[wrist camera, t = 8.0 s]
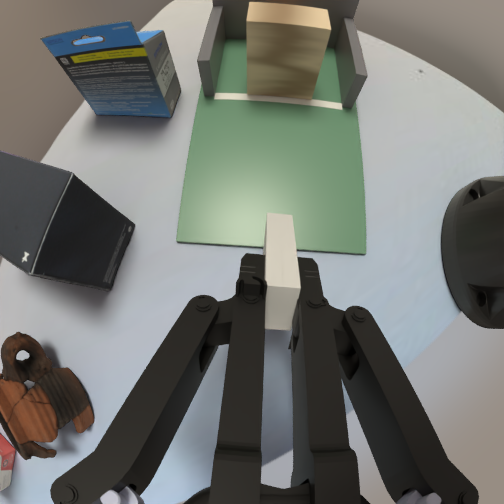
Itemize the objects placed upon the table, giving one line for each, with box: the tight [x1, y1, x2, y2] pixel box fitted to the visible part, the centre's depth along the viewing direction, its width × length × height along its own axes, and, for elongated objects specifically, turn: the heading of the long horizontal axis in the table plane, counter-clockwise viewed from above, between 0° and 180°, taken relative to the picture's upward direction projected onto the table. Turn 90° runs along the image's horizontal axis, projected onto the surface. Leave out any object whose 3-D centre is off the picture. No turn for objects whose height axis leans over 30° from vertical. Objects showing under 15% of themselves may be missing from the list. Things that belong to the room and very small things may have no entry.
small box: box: [0, 150, 135, 291], centre depth 19 cm, size 11×6×10 cm, turn 70°
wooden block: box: [246, 2, 331, 100], centre depth 21 cm, size 6×3×9 cm, turn 86°
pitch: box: [176, 0, 367, 254], centre depth 21 cm, size 15×24×8 cm, turn 176°
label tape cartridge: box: [40, 20, 181, 117], centre depth 20 cm, size 9×4×12 cm, turn 79°
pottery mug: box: [0, 332, 94, 460], centre depth 19 cm, size 12×10×8 cm
